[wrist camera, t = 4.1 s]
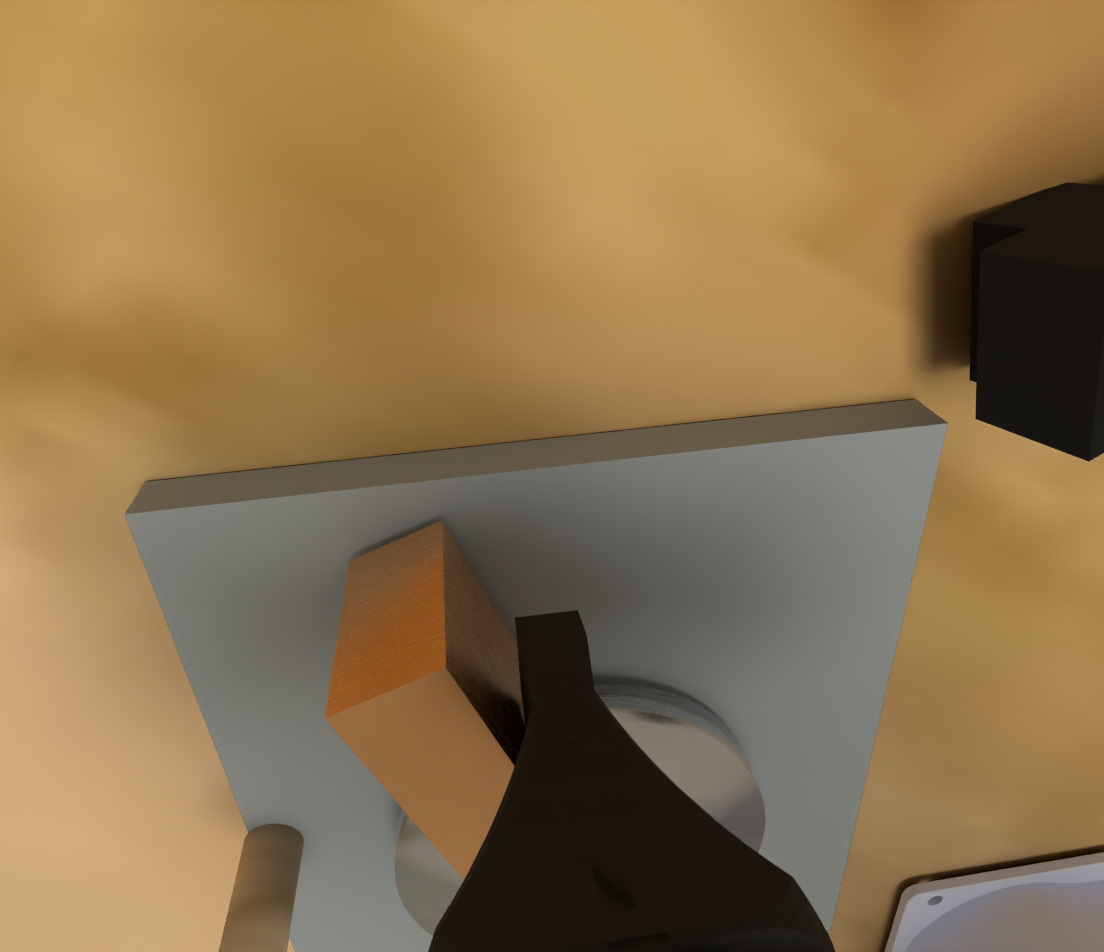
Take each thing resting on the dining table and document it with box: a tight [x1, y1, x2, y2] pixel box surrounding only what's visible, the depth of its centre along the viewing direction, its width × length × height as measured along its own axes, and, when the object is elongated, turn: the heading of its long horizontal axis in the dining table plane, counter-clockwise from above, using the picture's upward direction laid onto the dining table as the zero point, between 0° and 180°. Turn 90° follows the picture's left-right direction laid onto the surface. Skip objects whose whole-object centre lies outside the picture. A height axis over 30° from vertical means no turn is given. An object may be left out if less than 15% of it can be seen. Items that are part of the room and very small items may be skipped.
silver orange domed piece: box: [325, 520, 766, 936], centre depth 17 cm, size 14×9×4 cm, turn 23°
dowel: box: [219, 824, 304, 952], centre depth 17 cm, size 1×1×4 cm
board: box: [125, 399, 948, 952], centre depth 20 cm, size 16×18×1 cm
